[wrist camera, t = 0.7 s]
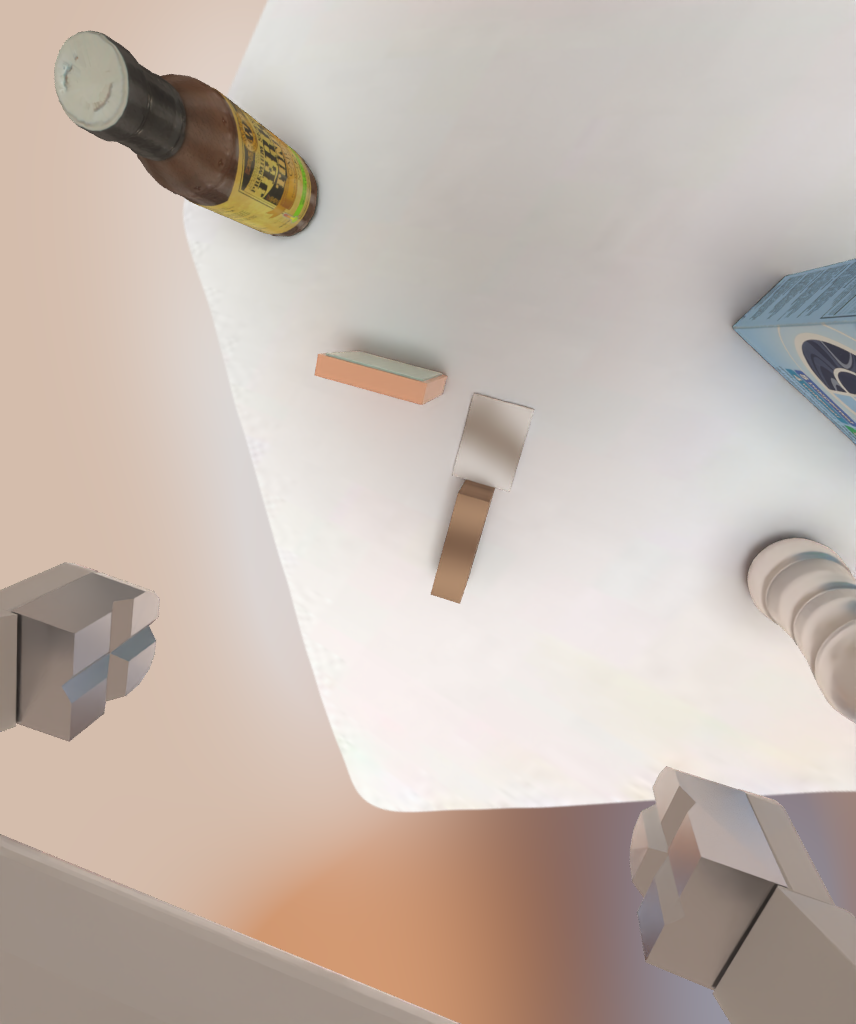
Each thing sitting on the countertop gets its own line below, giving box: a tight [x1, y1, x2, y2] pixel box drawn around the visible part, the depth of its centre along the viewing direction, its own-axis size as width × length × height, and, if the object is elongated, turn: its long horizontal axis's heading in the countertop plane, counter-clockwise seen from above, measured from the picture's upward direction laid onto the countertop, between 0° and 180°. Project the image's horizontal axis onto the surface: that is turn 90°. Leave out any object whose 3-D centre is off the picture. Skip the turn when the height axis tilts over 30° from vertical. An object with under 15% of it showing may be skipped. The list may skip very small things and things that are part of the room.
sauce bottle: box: [54, 31, 317, 236], centre depth 35 cm, size 6×6×20 cm
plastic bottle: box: [747, 538, 856, 723], centre depth 36 cm, size 6×7×20 cm
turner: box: [431, 393, 534, 604], centre depth 46 cm, size 16×5×5 cm, turn 166°
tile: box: [315, 351, 447, 405], centre depth 43 cm, size 8×2×8 cm, turn 76°
